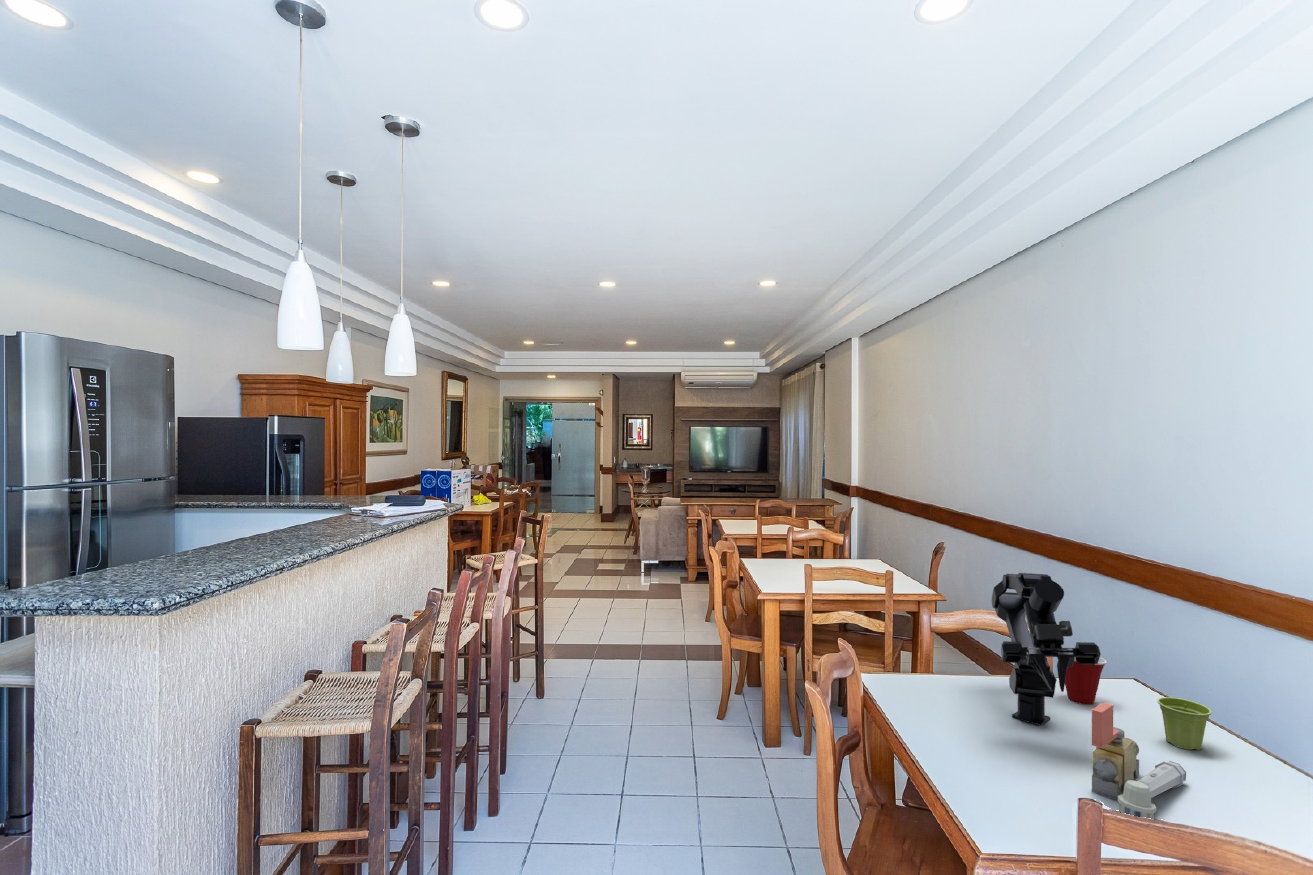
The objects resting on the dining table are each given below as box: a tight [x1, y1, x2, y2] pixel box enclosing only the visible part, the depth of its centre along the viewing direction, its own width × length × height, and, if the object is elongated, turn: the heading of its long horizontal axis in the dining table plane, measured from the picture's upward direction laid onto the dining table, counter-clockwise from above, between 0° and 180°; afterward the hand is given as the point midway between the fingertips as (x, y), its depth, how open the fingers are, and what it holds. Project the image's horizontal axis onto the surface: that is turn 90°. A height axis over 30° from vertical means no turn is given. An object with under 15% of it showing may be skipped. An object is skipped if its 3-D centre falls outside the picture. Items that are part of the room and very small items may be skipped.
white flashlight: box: [1117, 760, 1187, 820], centre depth 119 cm, size 5×7×25 cm
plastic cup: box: [1064, 656, 1107, 706], centre depth 168 cm, size 11×11×12 cm
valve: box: [1091, 737, 1140, 801], centre depth 126 cm, size 16×5×9 cm, turn 130°
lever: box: [1091, 702, 1125, 748], centre depth 123 cm, size 11×3×7 cm, turn 128°
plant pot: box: [1156, 696, 1213, 751], centre depth 143 cm, size 9×9×9 cm
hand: (1057, 690), depth 138 cm, fingers closed
